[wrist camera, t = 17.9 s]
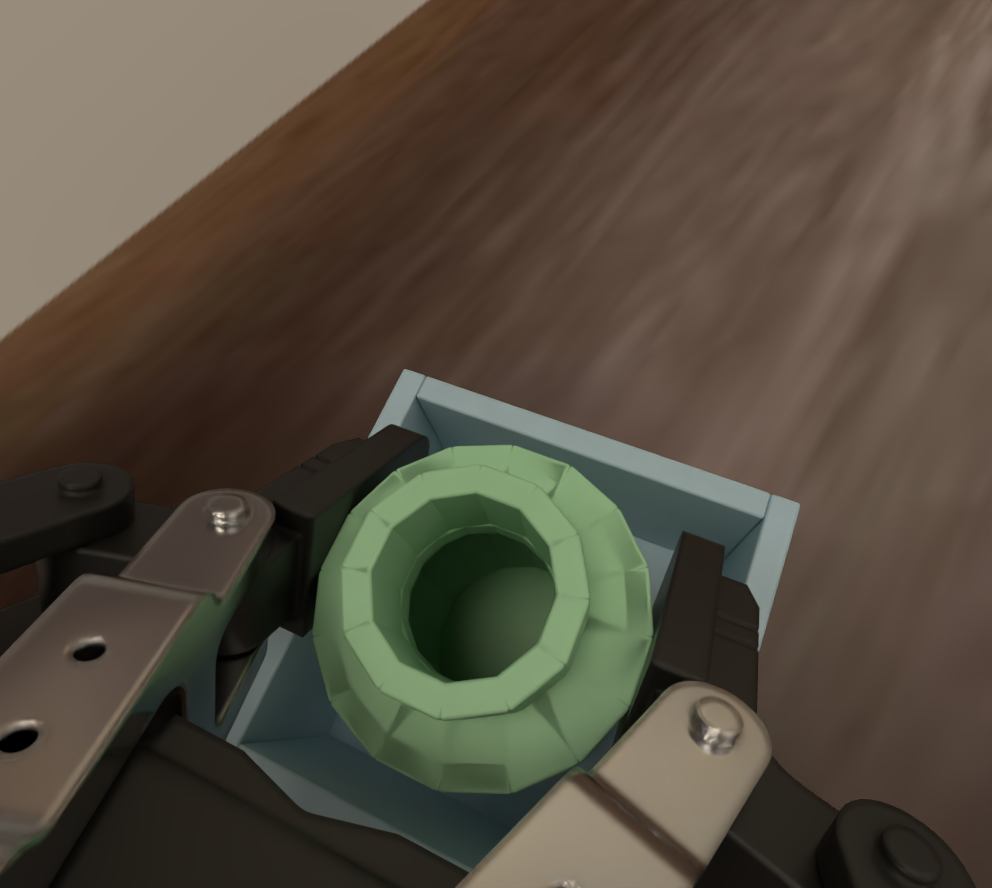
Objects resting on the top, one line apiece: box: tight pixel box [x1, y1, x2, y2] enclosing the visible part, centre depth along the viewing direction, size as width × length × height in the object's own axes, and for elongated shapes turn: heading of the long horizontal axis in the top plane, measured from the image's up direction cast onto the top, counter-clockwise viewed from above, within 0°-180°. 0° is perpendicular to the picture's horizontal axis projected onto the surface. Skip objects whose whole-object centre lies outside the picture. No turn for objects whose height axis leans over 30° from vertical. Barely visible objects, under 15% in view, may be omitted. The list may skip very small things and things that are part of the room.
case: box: [226, 369, 800, 873], centre depth 16 cm, size 9×9×6 cm
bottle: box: [312, 445, 654, 794], centre depth 12 cm, size 5×5×10 cm
